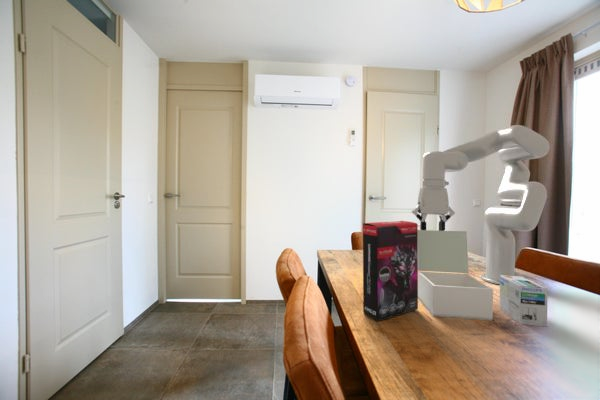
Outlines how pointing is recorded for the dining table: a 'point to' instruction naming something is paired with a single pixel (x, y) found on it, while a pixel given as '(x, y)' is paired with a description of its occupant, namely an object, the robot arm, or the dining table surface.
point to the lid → (442, 251)
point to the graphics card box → (390, 268)
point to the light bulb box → (523, 300)
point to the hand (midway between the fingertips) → (432, 231)
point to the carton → (455, 296)
